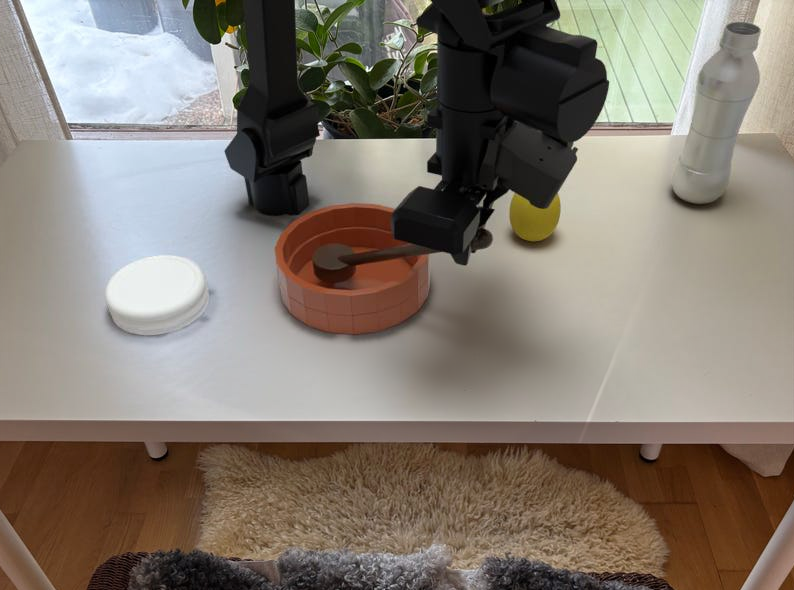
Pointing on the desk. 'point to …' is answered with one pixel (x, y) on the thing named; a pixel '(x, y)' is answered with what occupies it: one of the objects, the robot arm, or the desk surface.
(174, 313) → the white round lid
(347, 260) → the brown utensil
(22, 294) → the desk surface
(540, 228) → the lemon
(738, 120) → the plastic bottle
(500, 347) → the desk surface
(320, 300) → the bowl
